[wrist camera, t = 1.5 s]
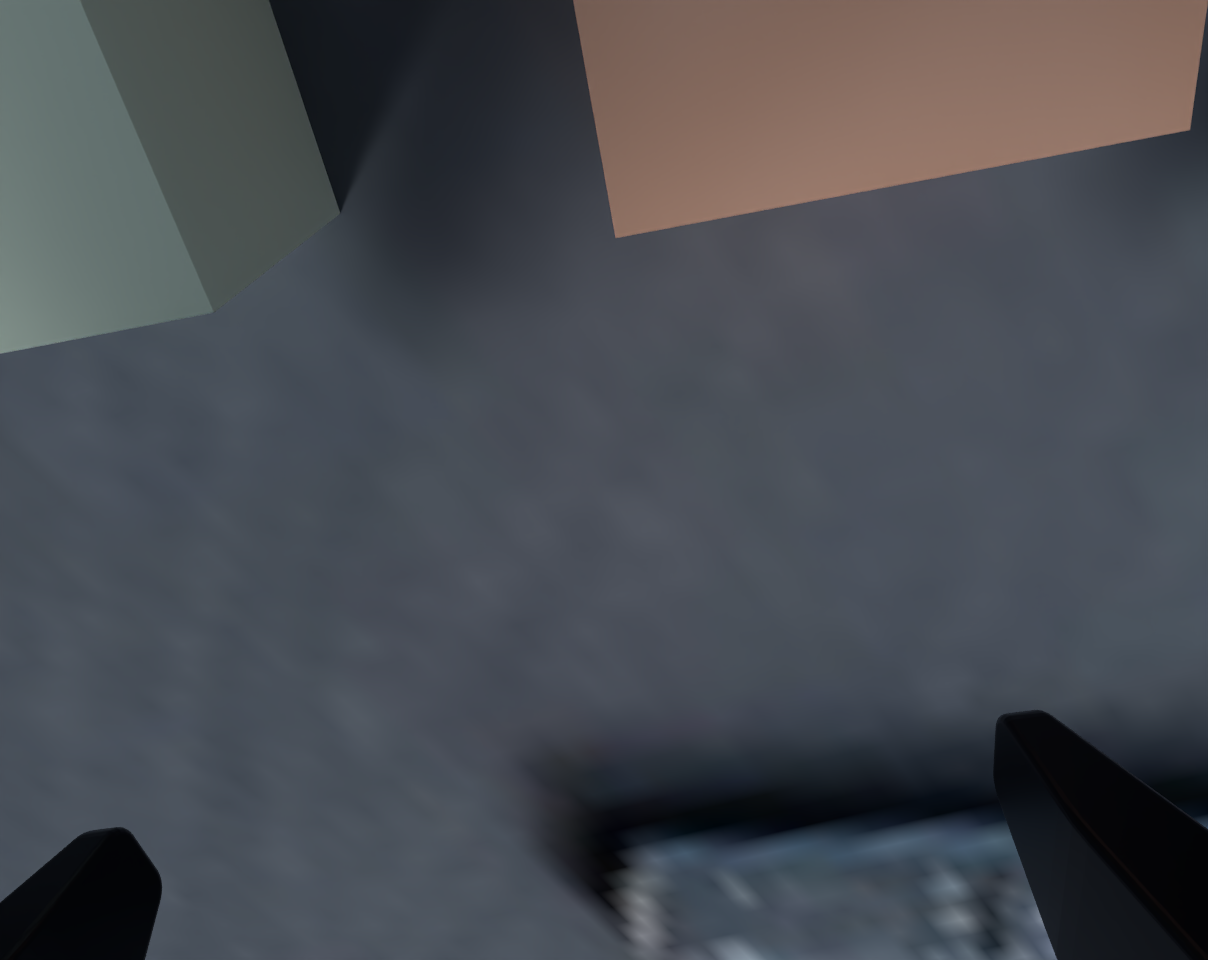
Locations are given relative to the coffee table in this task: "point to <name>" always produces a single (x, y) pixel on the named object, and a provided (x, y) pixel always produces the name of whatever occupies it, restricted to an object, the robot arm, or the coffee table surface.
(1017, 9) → the salmon pink cube
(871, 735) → the coffee table surface
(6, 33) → the pale green cube
